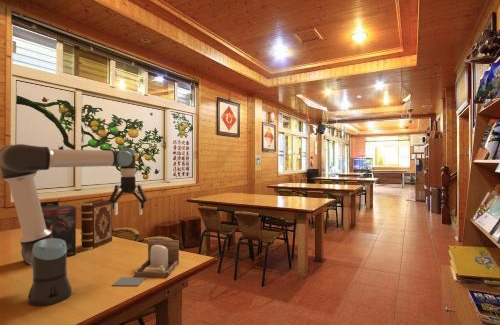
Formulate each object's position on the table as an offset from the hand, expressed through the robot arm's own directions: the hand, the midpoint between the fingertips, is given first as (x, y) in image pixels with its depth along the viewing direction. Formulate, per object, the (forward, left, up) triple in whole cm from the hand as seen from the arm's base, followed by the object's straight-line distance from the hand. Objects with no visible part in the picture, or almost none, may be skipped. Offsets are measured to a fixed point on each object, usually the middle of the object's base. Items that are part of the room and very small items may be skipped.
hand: (128, 214), depth 162 cm
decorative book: (+36, +39, -27) cm, 59 cm away
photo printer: (-6, -19, -27) cm, 34 cm away
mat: (-24, -11, -27) cm, 38 cm away
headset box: (+10, +52, -28) cm, 59 cm away
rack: (-7, -19, -27) cm, 34 cm away
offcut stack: (-14, -19, -27) cm, 36 cm away
